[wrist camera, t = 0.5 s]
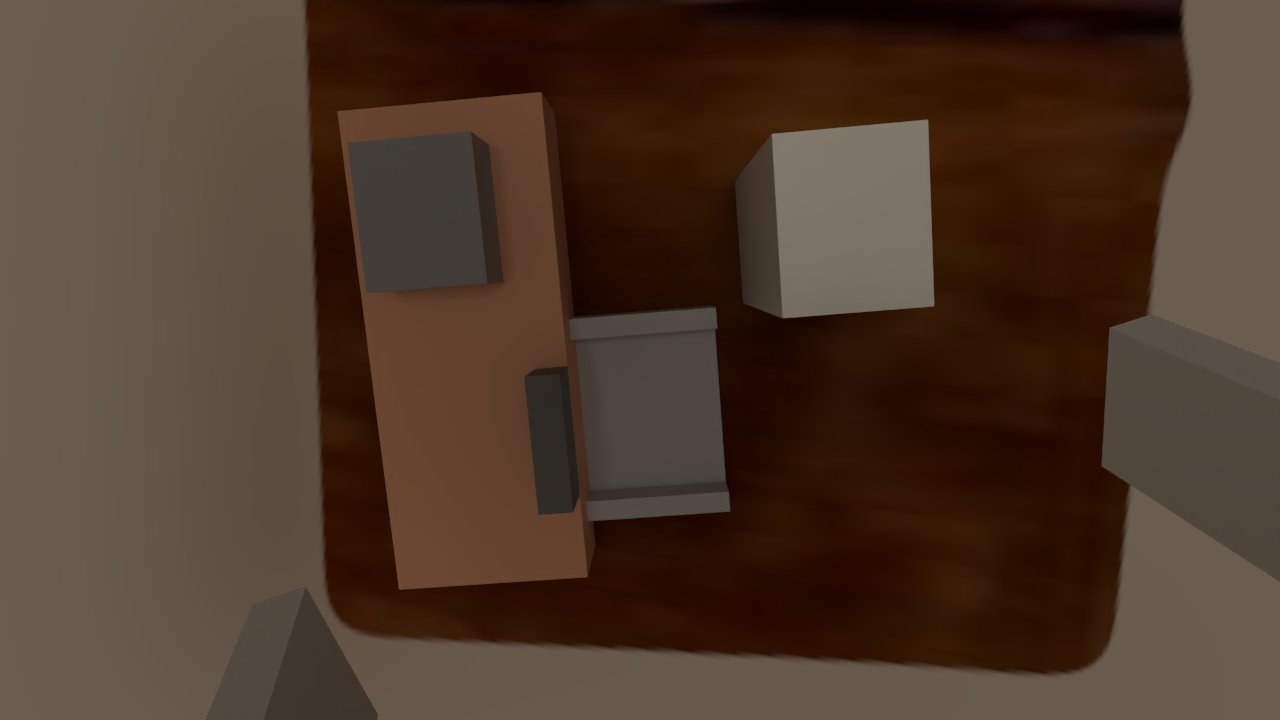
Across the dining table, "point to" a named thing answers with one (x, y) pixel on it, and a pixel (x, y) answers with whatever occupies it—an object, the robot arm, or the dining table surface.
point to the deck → (511, 355)
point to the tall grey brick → (837, 221)
